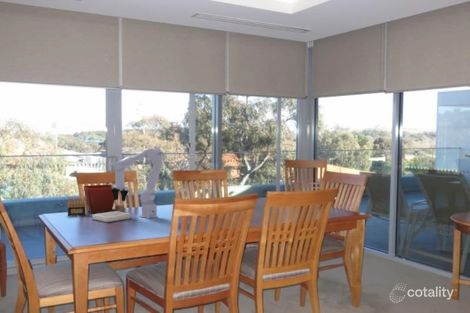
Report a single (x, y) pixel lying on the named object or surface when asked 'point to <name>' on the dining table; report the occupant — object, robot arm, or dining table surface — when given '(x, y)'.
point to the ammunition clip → (72, 207)
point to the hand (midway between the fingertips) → (119, 200)
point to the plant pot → (99, 198)
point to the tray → (111, 216)
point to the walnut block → (119, 208)
